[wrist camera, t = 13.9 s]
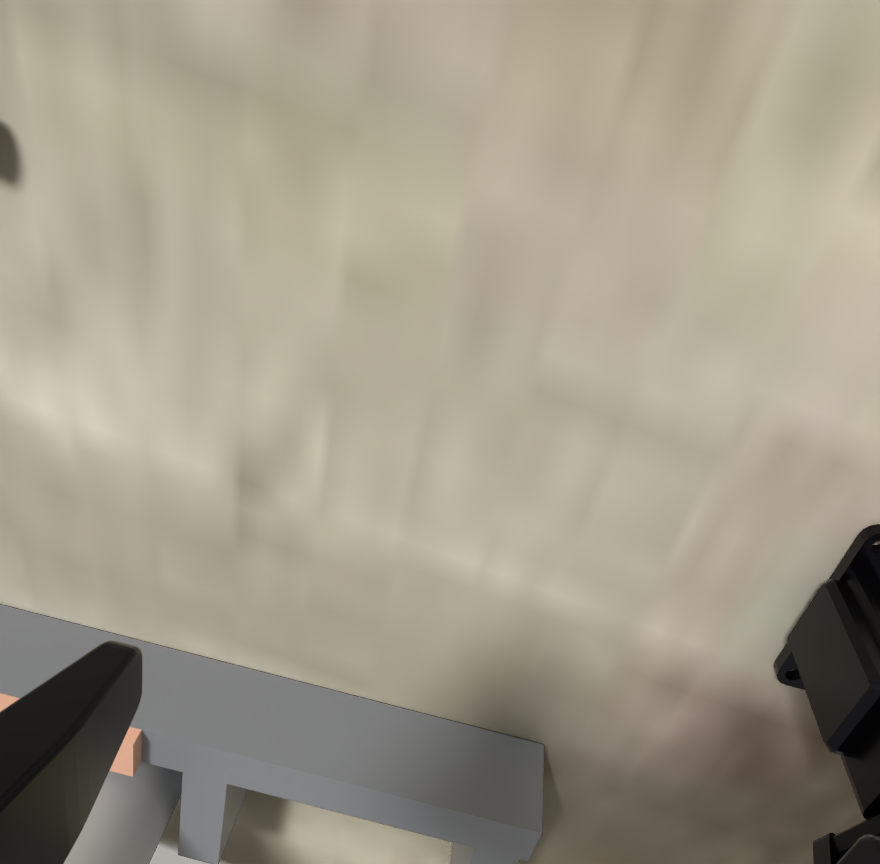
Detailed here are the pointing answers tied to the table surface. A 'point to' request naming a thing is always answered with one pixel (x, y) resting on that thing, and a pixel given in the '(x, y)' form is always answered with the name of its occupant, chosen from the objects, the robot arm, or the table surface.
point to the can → (128, 817)
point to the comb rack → (298, 747)
